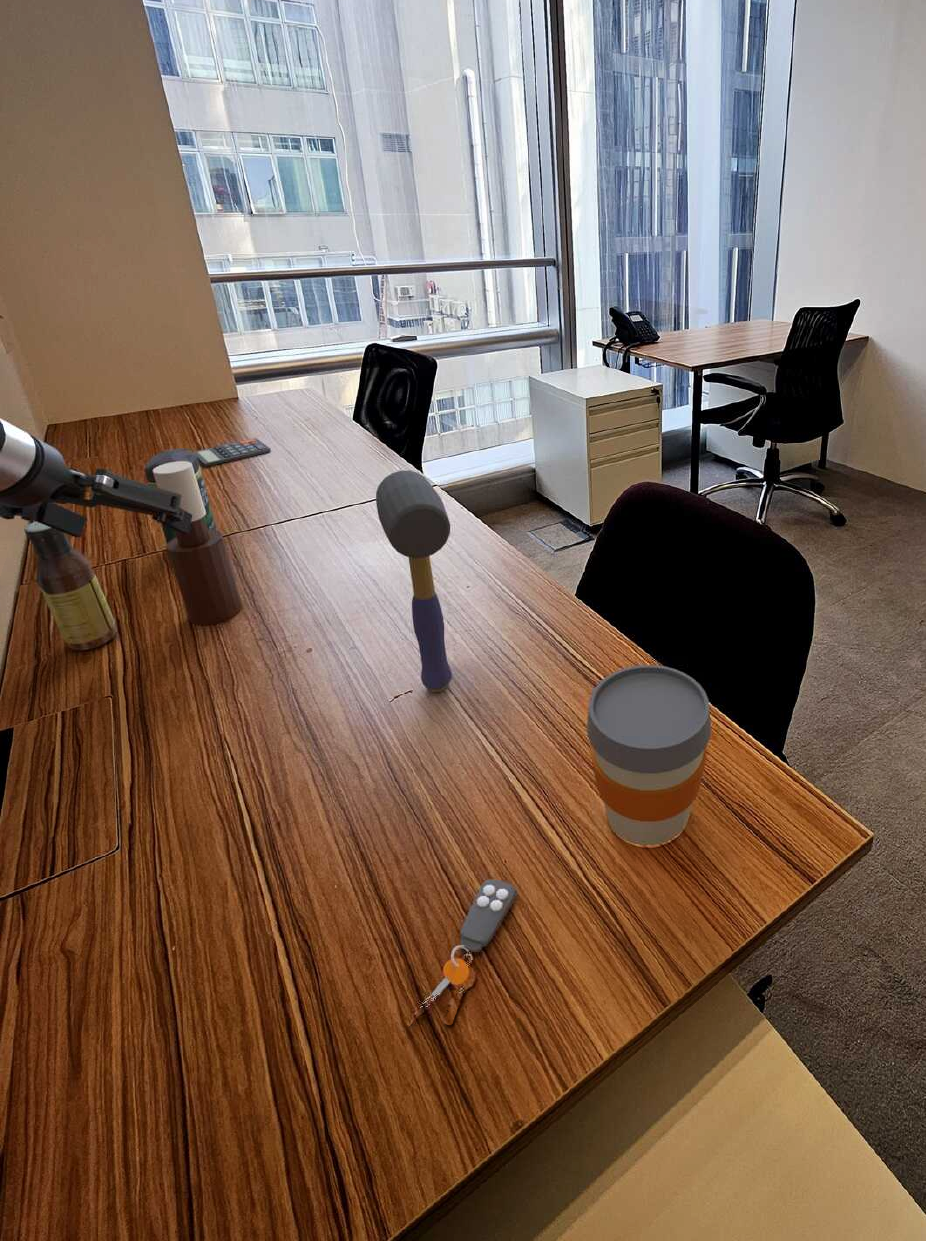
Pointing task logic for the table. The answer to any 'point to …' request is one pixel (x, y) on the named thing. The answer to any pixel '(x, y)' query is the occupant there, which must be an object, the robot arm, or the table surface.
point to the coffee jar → (191, 457)
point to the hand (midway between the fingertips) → (134, 526)
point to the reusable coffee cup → (648, 749)
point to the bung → (181, 486)
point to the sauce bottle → (70, 590)
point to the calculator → (231, 452)
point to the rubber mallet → (419, 561)
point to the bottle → (204, 574)
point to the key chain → (478, 929)
